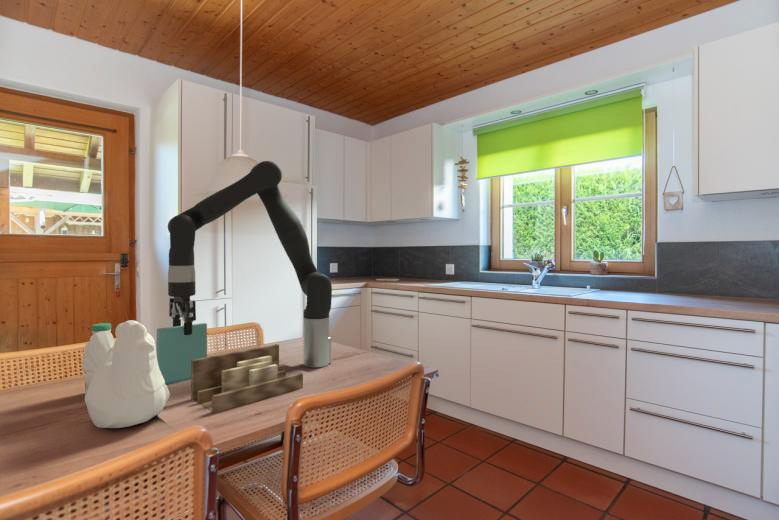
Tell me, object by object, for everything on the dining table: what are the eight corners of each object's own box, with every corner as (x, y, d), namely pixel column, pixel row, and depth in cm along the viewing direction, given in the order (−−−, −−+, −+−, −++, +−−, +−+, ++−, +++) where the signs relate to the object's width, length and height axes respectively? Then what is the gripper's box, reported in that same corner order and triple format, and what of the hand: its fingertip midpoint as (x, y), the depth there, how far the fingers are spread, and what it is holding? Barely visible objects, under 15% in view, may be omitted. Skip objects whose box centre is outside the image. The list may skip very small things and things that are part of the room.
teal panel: (204, 378, 132) (204, 322, 132) (207, 379, 131) (206, 323, 131) (156, 389, 122) (156, 328, 121) (159, 390, 121) (159, 329, 120)
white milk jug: (181, 420, 100) (180, 318, 99) (106, 444, 87) (105, 328, 86) (136, 397, 115) (135, 309, 114) (66, 415, 102) (65, 316, 101)
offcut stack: (268, 385, 121) (269, 355, 121) (277, 389, 118) (277, 358, 118) (219, 399, 110) (219, 365, 110) (227, 403, 107) (227, 369, 106)
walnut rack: (276, 382, 129) (276, 344, 129) (302, 392, 120) (302, 351, 119) (191, 404, 110) (191, 359, 110) (214, 419, 100) (214, 370, 100)
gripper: (204, 280, 124) (204, 334, 124) (185, 278, 133) (185, 328, 134) (178, 282, 118) (178, 338, 118) (160, 279, 128) (160, 331, 128)
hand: (182, 332), depth 126 cm, fingers open, 8 cm apart
